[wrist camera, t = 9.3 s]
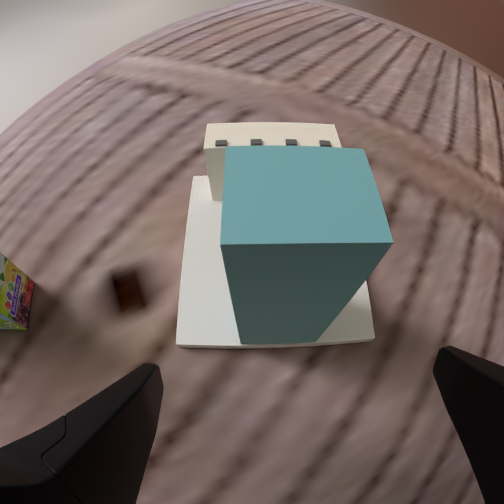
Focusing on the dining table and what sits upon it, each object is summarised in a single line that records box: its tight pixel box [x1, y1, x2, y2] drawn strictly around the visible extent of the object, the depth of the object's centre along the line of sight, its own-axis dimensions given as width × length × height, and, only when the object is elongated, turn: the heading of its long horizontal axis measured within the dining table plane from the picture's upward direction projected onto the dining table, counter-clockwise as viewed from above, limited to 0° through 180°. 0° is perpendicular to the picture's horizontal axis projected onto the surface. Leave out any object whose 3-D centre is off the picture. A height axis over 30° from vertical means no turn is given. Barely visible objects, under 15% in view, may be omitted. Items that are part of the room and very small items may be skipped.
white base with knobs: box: [176, 122, 375, 348], centre depth 21 cm, size 15×14×7 cm
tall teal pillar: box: [220, 145, 393, 345], centre depth 15 cm, size 4×5×13 cm
